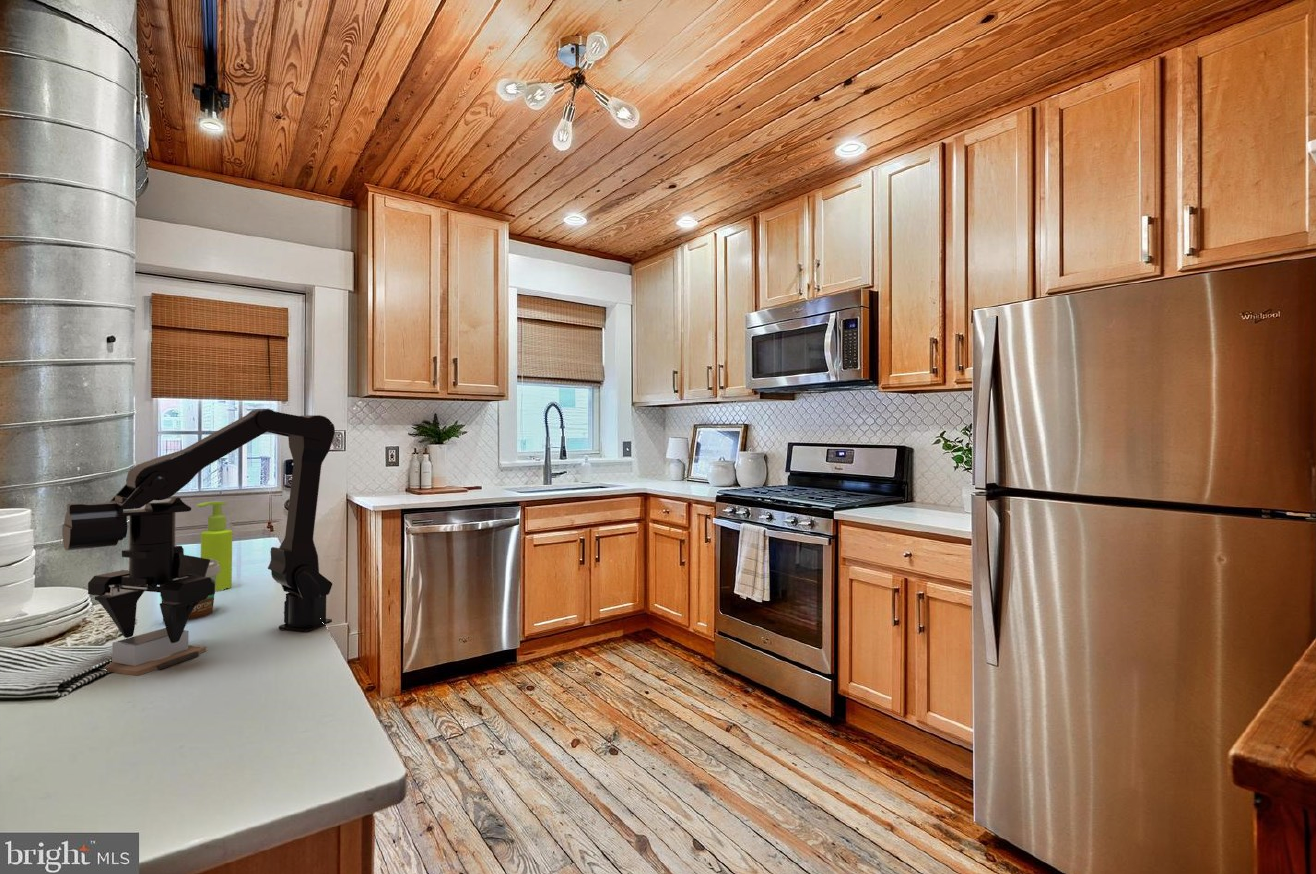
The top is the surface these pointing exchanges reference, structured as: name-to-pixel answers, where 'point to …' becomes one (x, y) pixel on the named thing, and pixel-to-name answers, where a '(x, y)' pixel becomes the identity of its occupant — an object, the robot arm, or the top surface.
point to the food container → (207, 605)
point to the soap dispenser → (218, 544)
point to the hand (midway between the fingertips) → (151, 639)
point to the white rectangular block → (147, 647)
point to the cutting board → (156, 662)
